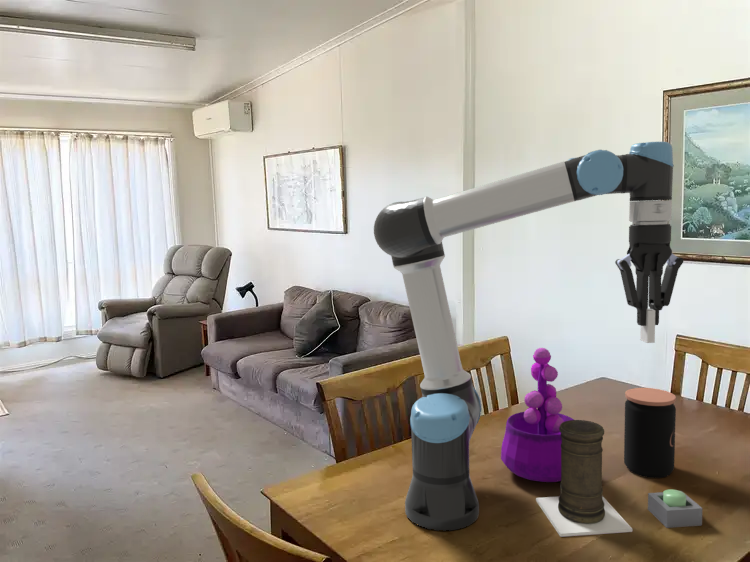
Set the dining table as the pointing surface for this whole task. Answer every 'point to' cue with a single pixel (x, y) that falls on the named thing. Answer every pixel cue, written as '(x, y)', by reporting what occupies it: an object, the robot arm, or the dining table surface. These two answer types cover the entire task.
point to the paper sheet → (570, 528)
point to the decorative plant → (536, 428)
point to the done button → (674, 498)
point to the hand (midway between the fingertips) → (647, 341)
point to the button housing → (675, 512)
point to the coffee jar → (649, 432)
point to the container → (581, 472)
